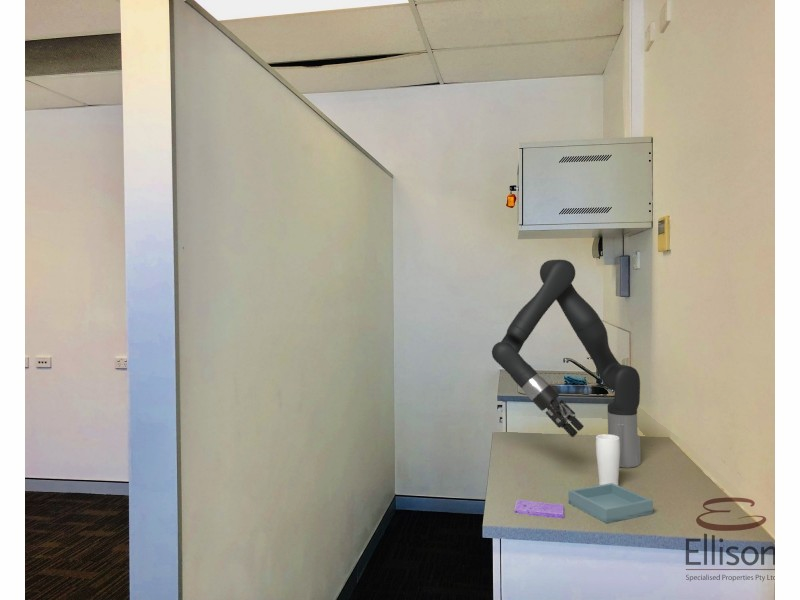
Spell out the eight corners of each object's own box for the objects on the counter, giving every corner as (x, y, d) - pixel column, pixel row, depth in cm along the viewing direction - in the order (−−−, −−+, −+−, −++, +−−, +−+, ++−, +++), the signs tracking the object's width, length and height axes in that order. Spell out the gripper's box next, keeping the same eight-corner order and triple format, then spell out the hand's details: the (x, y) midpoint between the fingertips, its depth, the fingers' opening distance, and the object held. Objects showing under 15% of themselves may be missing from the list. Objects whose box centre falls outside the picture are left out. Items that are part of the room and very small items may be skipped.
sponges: (517, 506, 155) (517, 499, 155) (564, 510, 152) (564, 503, 152) (514, 515, 149) (514, 508, 149) (563, 520, 145) (563, 513, 145)
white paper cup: (609, 492, 162) (608, 441, 162) (591, 486, 168) (590, 436, 168) (626, 488, 165) (625, 437, 165) (607, 482, 171) (606, 433, 171)
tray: (612, 495, 160) (612, 482, 160) (652, 513, 146) (652, 500, 146) (568, 503, 155) (568, 490, 155) (606, 523, 141) (606, 509, 141)
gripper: (542, 387, 169) (582, 429, 163) (554, 380, 181) (592, 419, 176) (525, 403, 172) (564, 445, 166) (538, 395, 184) (574, 434, 178)
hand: (578, 431), depth 171 cm, fingers open, 8 cm apart
